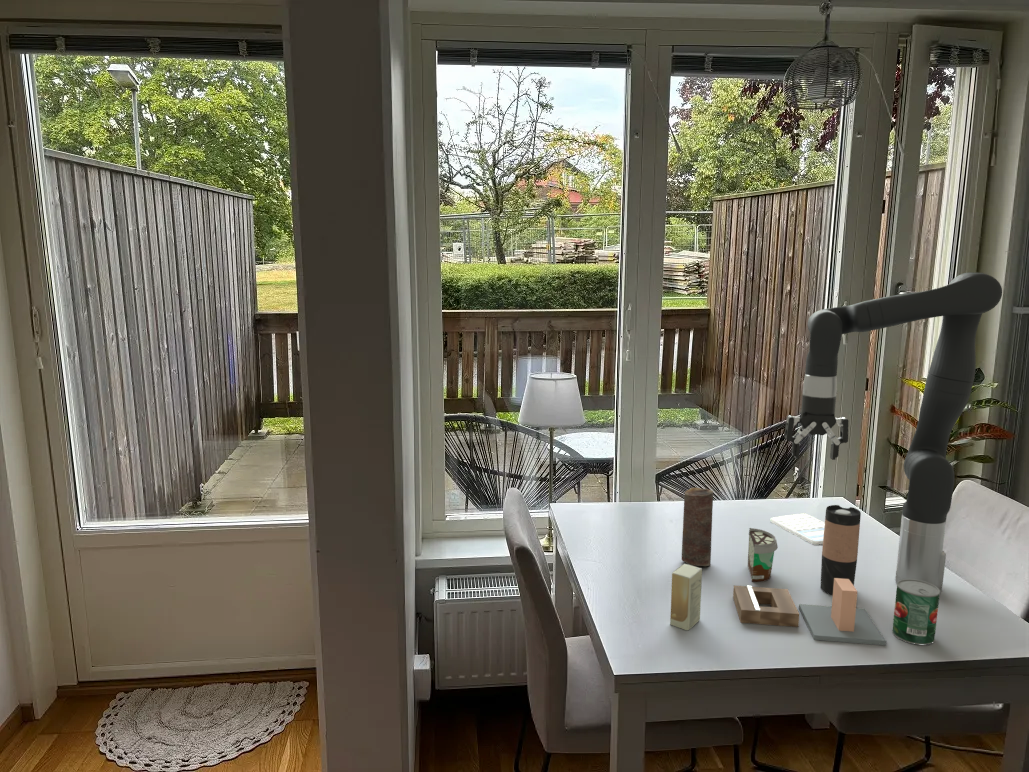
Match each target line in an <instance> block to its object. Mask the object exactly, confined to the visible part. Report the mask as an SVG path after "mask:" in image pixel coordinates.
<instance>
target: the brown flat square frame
mask: <svg viewBox="0 0 1029 772" xmlns="http://www.w3.org/2000/svg"><path fill="white" fill-rule="evenodd" d="M732 591H733V592H732V598H733V601H734V605H735V608H736V611H737V615H738V618H739V621H740V623H741V624H743V623H744V624H753V625H754V624H755V625H768V626H770V625H771V626H780V627H781V626H782V627H793V628H799V626H800V613H799V612H800V611H799V609H797V606H796V604H795V602H794V600H793V598H792V595H791V593H790V591H789V589H788V588H777V587H776V588H774V587H760V586H759V587H758V586H752V585H751V584H749V585H745V586H744V585H733V590H732ZM759 604H760V605H761V606H759ZM762 605H769V606H762Z"/></svg>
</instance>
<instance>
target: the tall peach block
mask: <svg viewBox="0 0 1029 772" xmlns="http://www.w3.org/2000/svg"><path fill="white" fill-rule="evenodd" d="M831 598H832V601H831V606H832V610H831V618H832V619H833V621H834V623H835V625H836V626H837V628H838V630H839V631H853V632H854V625H855V614H856V608H857V603H858V590H857V588H856V587H855V585H854V586H853V584H852V583H851V581H850V580H849V579H841V578H834V586H833V595H832V597H831Z"/></svg>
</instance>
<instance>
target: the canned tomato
mask: <svg viewBox="0 0 1029 772" xmlns="http://www.w3.org/2000/svg"><path fill="white" fill-rule="evenodd" d="M940 594H941V591H940V590H939V589H938V588H937V587H936V586H934V585H933V584H930V583H928V582H924V581H920V580H915V579H903V580H900V581H898V582H897V583H896V591H895V601H894V603H895V604H894V611H893V619H892V620H893V621H892V629H891V633H892V635H893V634H894V635H893V636H896V637H895V638H897V639H898V638H899V639H898V640H900V639H901V640H900V641H902V640H903V641H902V642H904V641H906V642H905V643H907V642H909V643H908V644H910V643H915V644H930V643H932V642H934V643H935V640H936V639H935V637H936V629H937V620H938V613H939V612H938V610H939V603H940ZM932 644H933V643H932ZM930 645H931V644H930Z"/></svg>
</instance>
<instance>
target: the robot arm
mask: <svg viewBox="0 0 1029 772" xmlns="http://www.w3.org/2000/svg"><path fill="white" fill-rule="evenodd" d="M1002 298H1003V288H1002V284H1001V282H999V280H997V279H996V278H995V277H994V276H992V275H989V273H983V272H971V271H970V272H963V273H961V274H959V275H957V276H955V277H954V278H953V279H952V280H951V281H950V282H949V284H946V285H944V286H940V287H937V288H934V289H929V290H924V291H919V292H912V293H904V294H896V295H890V296H885V297H879V298H875V299H869V300H864V301H861V302H858V303H854V304H851V305H843V306H836V307H829V308H823V309H820V310H817V311H815V312H814V313H812V314H811V315H810V316H809V318H808V320H807V330H808V332H809V345H808V346H809V348H808V349H809V351H808V352H807V355H806V358H805V359H806V360H805V372H804V378H803V379H804V380H803V384H802V395H801V396H802V397H801V398H802V399H801V409H800V410H801V412H800V415H799V416H792V415H791V414H789V415H787V416H786V419H785V420H786V421H785V427H784V429H785V430H784V436H783V437H784V438H785V440H787V442H791V455H792V456H793V457H794V459H799V458H800V448H801V447H800V446H801V444H800V442H801V440H803V439H804V438H806V437H807V435H810V436H815V435H817V436H818V435H820V436H824V435H827V437H829V439H830V441H831V443H830V453H829V458H830V460H834V461H835V460H836V459H837V458H838V457H839V454H840V453H839V451H840V445H842V444H844V443H845V444H846V443H848V442H849V419H848V418H846V417H845V416H841V417H836V415H835V414H836V403H837V394H838V380H837V379H838V378H837V377H838V375H837V374H838V364H839V363H838V362H839V359H838V358H839V357H838V356H839V351H840V347H841V341H842V335H846V334H851V333H864V332H871V331H875V330H881V329H884V328H890V327H894V326H898V325H904V324H908V323H911V322H917V321H920V320H921V321H922V320H927V319H931V318H939V317H942V321H941V327H940V331H939V335H938V339H937V342H936V344H935V349H934V351H933V355H932V359H931V362H930V366H929V369H928V371H927V372H928V373H927V376H926V380H925V381H926V382H925V385H924V389H923V393H922V394H923V395H922V399H921V402H920V403H921V404H920V408H919V414H918V419H917V420H918V421H917V424H916V425H917V426H916V428H915V432H914V434H913V436H912V440H911V443H910V445H909V448H908V451H907V454H906V456H905V458H904V461H903V462H904V463H903V470H904V471H903V472H904V475H905V476H906V479H908V481H909V482H908V490H907V498H906V501H905V502H903V504H902V512H901V520H900V530H899V531H900V532H899V541H898V550H897V562H896V571H895V579H894V580H895V583H896V584H897V582H898V581H900V580H903V579H915V580H920V581H924V582H928V583H930V584H933V585H934V586H936V587H937V588H938V589H939V590H940V592H943V586H944V578H945V577H944V576H945V568H946V558H947V553H946V552H945V551H944V543H945V534H946V533H945V532H946V524H947V517H948V513H949V512H950V510H951V506H952V500H953V494H954V487H955V470H954V467H953V465H952V464H951V462H950V461H948V459H946V458H947V452H948V451H947V450H948V445H949V439H950V436H951V433H952V431H953V428H954V426H955V425H956V423H957V422H958V421H959V418H960V417H961V416H962V414H963V411H964V410H965V408H966V407H967V404H968V402H969V399H970V397H971V393H972V389H973V385H974V381H975V376H976V375H975V374H976V361H977V359H976V358H977V357H976V355H977V354H976V335H977V330H978V327H979V324H980V321H981V317H982V316H983V314H984V313H987V312H990V311H991V310H993V309H994V308H995V307H996V306H997V305H998V304H999V303H1000V301H1001V299H1002ZM797 423H799V424H800V425H801V426H800V428H798V429H797V432H795V434H794V435H793V433H794V432H793V431H794V426H796V425H797ZM836 423H837V426H838V427H839V437H837V436H836V434H835V432H834V431H833V430H832V429H833V428H834V426H835V425H836Z"/></svg>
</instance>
